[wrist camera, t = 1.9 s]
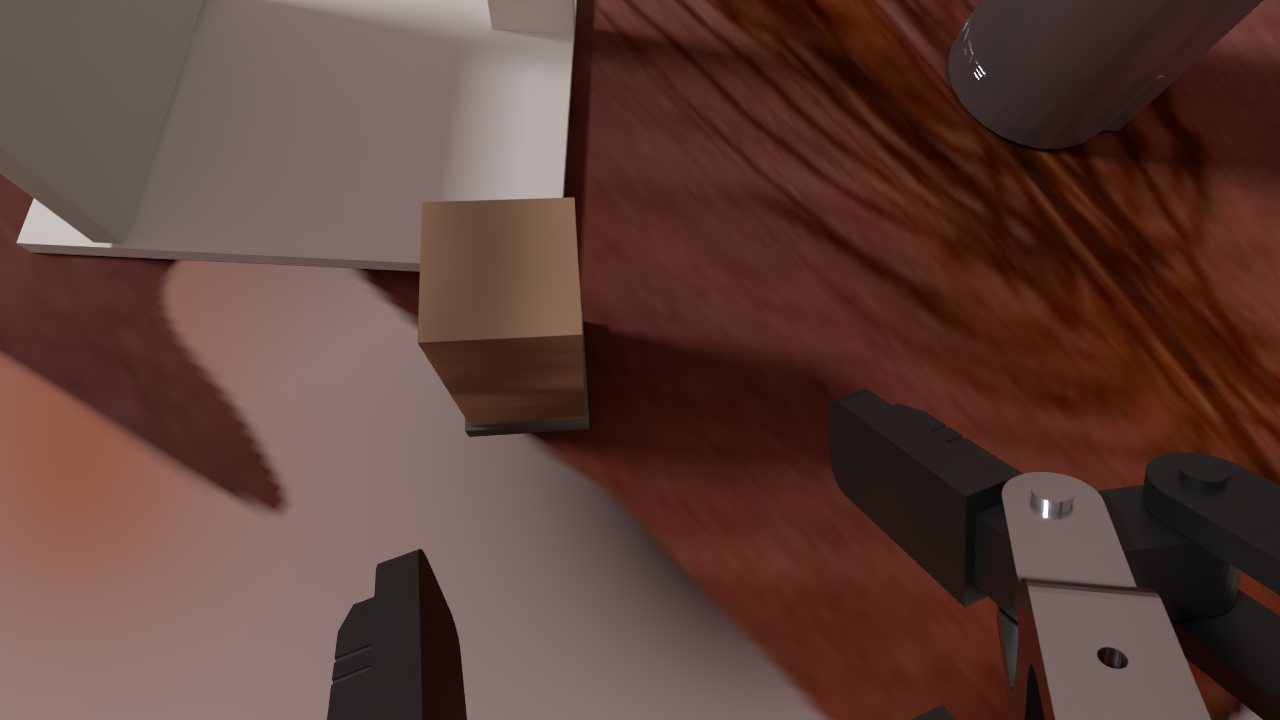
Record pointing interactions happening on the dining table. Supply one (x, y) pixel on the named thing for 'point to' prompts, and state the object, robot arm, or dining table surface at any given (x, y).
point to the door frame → (344, 130)
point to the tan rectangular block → (505, 313)
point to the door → (87, 101)
